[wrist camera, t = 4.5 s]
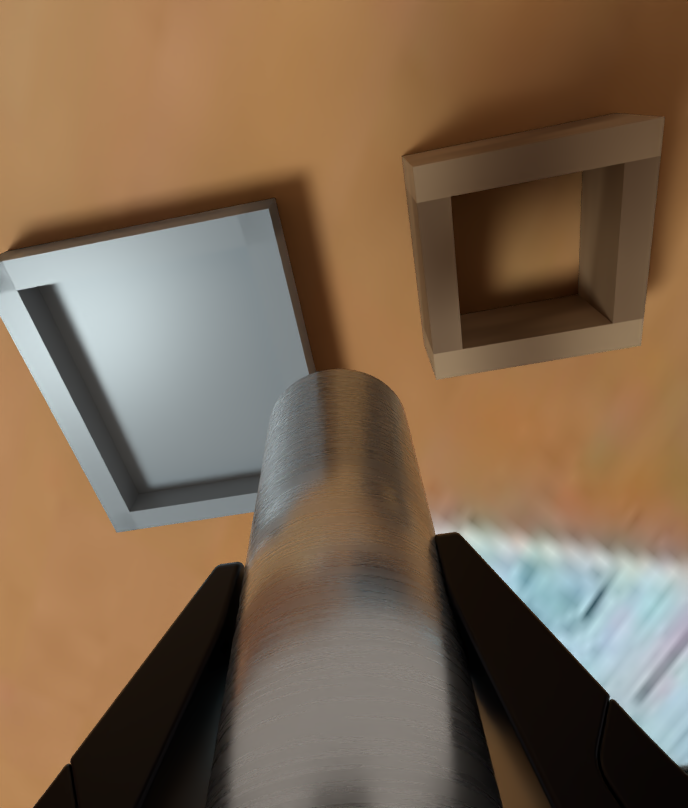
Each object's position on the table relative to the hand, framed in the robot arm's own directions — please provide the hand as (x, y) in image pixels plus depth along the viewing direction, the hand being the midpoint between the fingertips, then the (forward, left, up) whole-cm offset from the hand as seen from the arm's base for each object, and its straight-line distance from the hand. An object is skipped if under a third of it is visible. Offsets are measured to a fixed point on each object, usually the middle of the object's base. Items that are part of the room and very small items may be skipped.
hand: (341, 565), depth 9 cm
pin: (0, 0, -4) cm, 4 cm away
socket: (-7, -1, -13) cm, 15 cm away
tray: (+6, +2, -13) cm, 15 cm away
